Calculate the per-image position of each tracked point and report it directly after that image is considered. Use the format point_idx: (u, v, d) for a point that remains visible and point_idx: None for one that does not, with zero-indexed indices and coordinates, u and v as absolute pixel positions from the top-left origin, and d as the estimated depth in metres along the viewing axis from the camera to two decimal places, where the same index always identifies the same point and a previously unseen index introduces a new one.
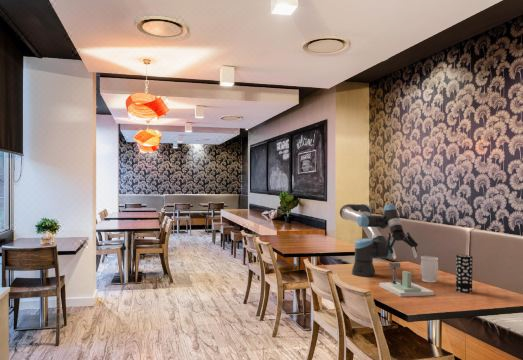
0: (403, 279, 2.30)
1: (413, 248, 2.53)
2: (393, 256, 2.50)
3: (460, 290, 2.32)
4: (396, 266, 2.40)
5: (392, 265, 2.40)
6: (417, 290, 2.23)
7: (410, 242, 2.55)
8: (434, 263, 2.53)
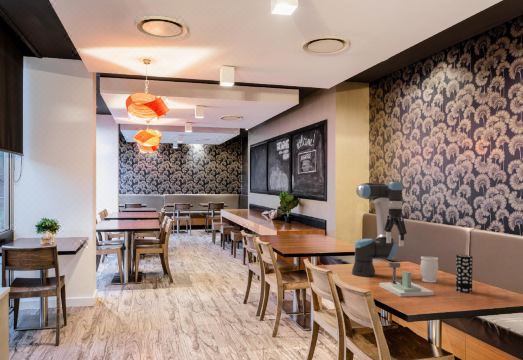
0: (403, 279, 2.30)
1: (399, 236, 2.35)
2: None
3: (460, 290, 2.32)
4: (396, 266, 2.40)
5: (392, 265, 2.40)
6: (417, 290, 2.23)
7: (398, 229, 2.36)
8: (434, 263, 2.53)
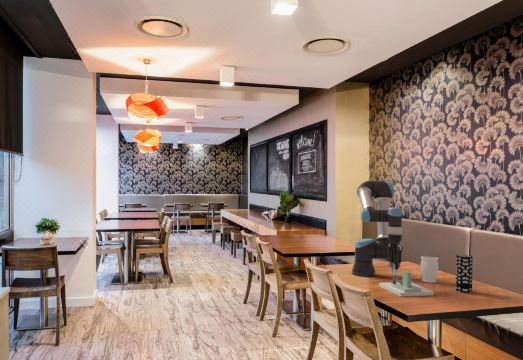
0: (403, 279, 2.30)
1: None
2: None
3: (460, 290, 2.32)
4: None
5: (392, 265, 2.40)
6: (417, 290, 2.23)
7: (394, 257, 2.39)
8: (434, 263, 2.53)
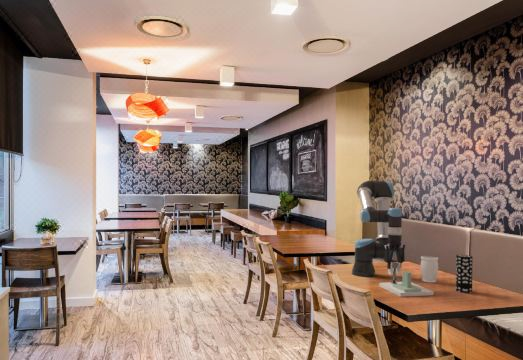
0: (403, 279, 2.30)
1: (399, 264, 2.41)
2: (388, 271, 2.41)
3: (460, 290, 2.32)
4: None
5: (396, 265, 2.39)
6: (417, 290, 2.23)
7: (400, 256, 2.41)
8: (434, 263, 2.53)
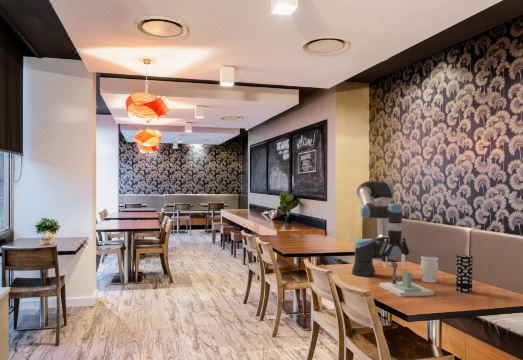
0: (403, 279, 2.30)
1: (404, 256, 2.43)
2: (383, 264, 2.40)
3: (460, 290, 2.32)
4: None
5: None
6: (417, 290, 2.23)
7: (403, 250, 2.43)
8: (434, 263, 2.53)
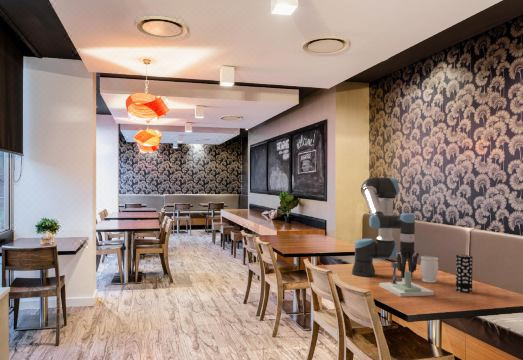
0: None
1: None
2: (403, 280, 2.29)
3: (460, 290, 2.32)
4: None
5: None
6: (417, 290, 2.23)
7: (411, 265, 2.28)
8: (434, 263, 2.53)
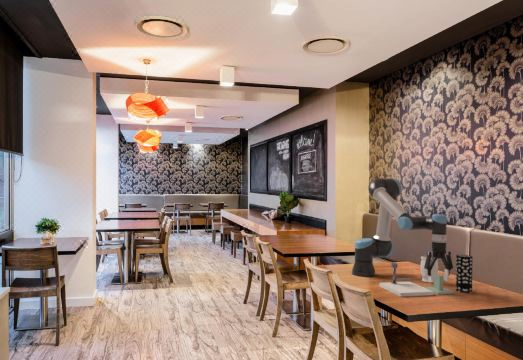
0: (435, 282, 2.34)
1: (447, 272, 2.33)
2: (429, 278, 2.32)
3: (460, 290, 2.32)
4: None
5: None
6: (449, 293, 2.28)
7: (447, 264, 2.33)
8: None
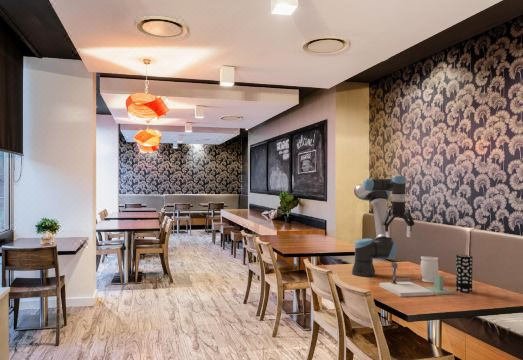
0: (435, 282, 2.34)
1: (409, 228, 2.46)
2: (386, 234, 2.44)
3: (460, 290, 2.32)
4: None
5: None
6: (449, 293, 2.28)
7: (408, 221, 2.46)
8: (434, 263, 2.53)
